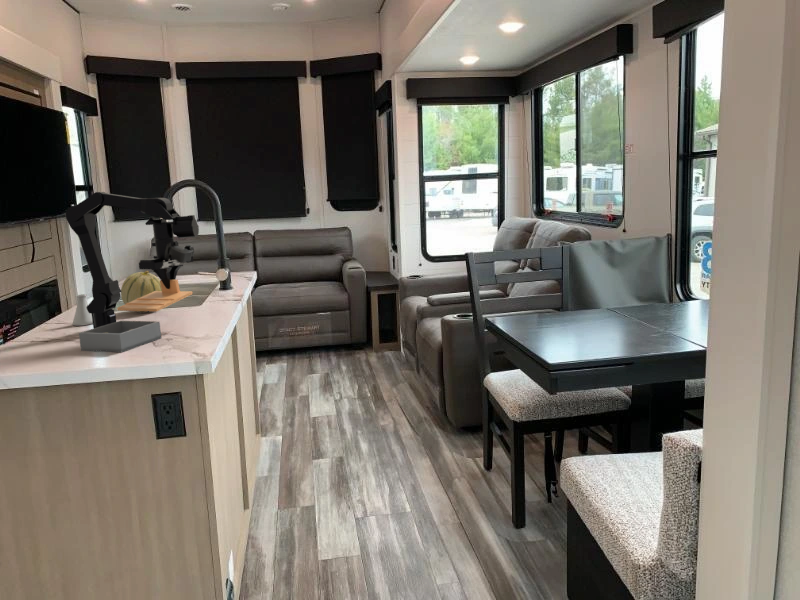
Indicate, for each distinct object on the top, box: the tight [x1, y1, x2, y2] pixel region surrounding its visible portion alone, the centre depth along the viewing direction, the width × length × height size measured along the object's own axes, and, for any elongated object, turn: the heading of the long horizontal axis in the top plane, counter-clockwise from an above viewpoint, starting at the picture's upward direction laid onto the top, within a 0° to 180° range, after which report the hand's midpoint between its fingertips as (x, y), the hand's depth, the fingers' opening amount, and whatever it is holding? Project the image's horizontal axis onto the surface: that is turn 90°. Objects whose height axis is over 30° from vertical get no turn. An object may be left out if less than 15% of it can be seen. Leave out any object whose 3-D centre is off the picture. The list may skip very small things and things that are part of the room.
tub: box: [78, 320, 162, 353], centre depth 180 cm, size 14×16×5 cm
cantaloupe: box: [120, 270, 162, 313], centre depth 229 cm, size 15×15×15 cm
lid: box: [116, 279, 193, 312], centre depth 193 cm, size 15×17×5 cm
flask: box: [71, 293, 93, 327], centre depth 212 cm, size 7×7×10 cm
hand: (170, 288), depth 199 cm, fingers closed on lid
